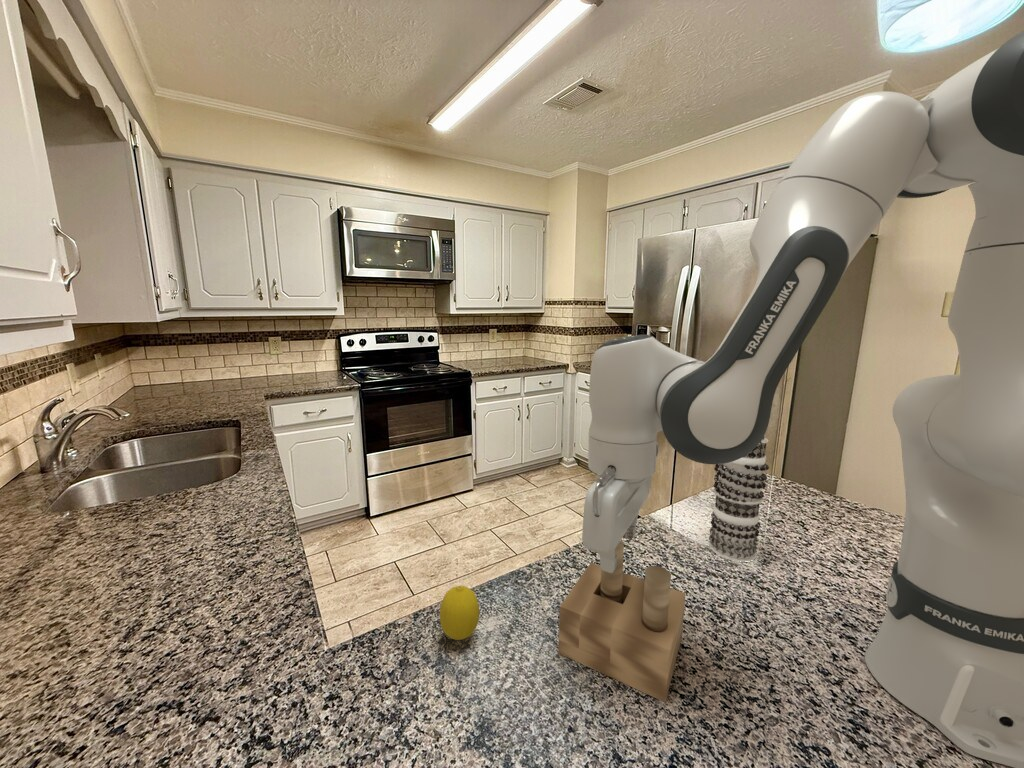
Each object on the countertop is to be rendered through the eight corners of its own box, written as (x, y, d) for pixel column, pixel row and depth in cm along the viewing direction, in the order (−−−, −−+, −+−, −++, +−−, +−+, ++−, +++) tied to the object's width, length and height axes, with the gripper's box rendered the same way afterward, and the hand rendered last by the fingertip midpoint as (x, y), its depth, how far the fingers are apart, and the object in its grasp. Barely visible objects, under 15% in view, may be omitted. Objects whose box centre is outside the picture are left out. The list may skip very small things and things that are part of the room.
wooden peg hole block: (681, 637, 59) (689, 547, 57) (665, 702, 49) (674, 595, 47) (589, 602, 66) (593, 521, 64) (558, 652, 56) (561, 558, 54)
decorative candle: (758, 546, 84) (771, 427, 80) (759, 569, 76) (774, 438, 72) (708, 534, 88) (719, 421, 84) (704, 555, 80) (716, 431, 76)
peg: (624, 619, 59) (626, 541, 58) (618, 632, 57) (620, 552, 55) (603, 611, 61) (605, 536, 59) (596, 624, 58) (598, 545, 57)
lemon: (472, 657, 55) (472, 602, 54) (433, 649, 56) (433, 596, 55) (483, 627, 60) (484, 577, 59) (448, 621, 61) (447, 572, 60)
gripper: (623, 486, 45) (620, 602, 47) (660, 441, 62) (657, 526, 64) (569, 476, 48) (568, 585, 50) (619, 435, 65) (617, 517, 67)
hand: (619, 551), depth 57 cm, fingers open, 8 cm apart
